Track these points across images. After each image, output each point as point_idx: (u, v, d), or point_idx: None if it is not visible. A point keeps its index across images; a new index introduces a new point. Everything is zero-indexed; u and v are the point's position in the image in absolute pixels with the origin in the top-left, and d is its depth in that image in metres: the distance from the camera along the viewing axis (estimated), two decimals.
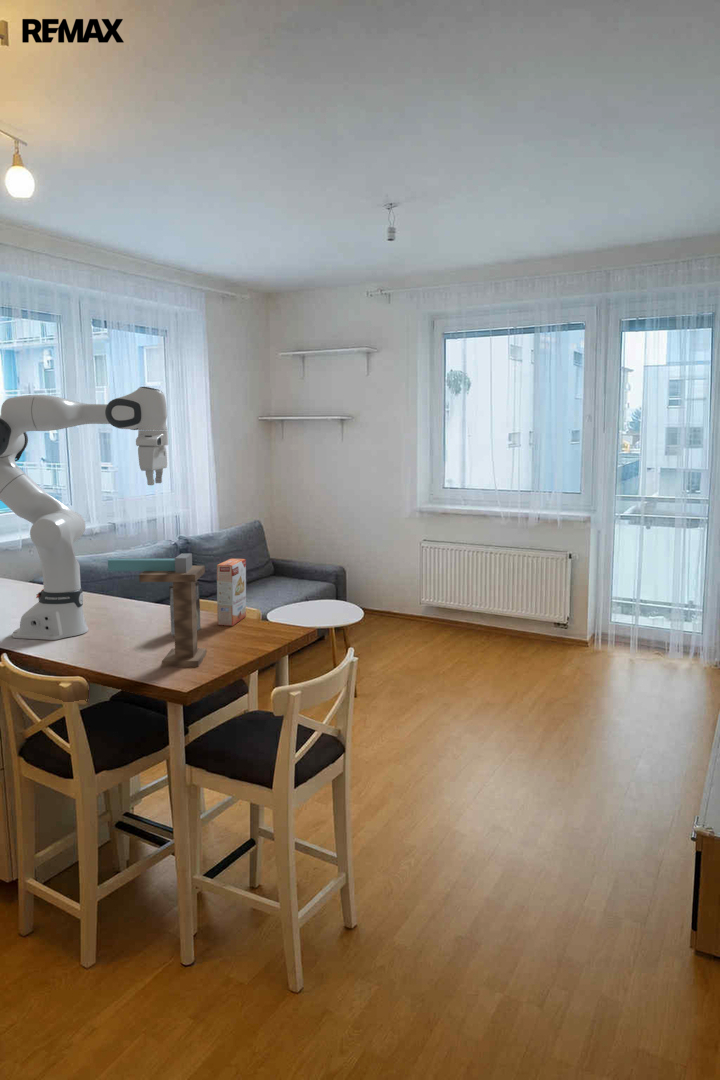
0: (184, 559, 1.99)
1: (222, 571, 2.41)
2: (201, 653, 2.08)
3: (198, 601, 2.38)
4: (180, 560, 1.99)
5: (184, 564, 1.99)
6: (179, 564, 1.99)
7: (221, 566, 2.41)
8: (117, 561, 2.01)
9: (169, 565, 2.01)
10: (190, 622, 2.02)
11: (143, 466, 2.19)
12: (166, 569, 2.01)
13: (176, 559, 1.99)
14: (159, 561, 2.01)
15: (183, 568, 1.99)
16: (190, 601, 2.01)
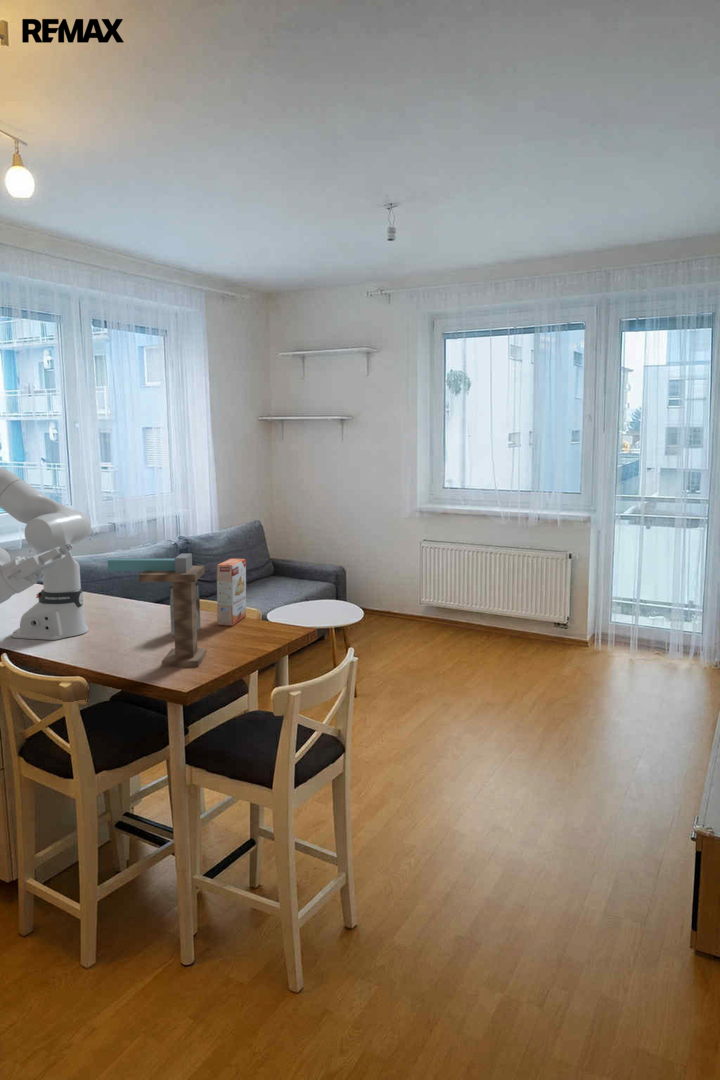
0: (184, 559, 1.99)
1: (222, 571, 2.41)
2: (201, 653, 2.08)
3: (198, 601, 2.38)
4: (180, 560, 1.99)
5: (184, 564, 1.99)
6: (179, 564, 1.99)
7: (221, 566, 2.41)
8: (117, 561, 2.01)
9: (169, 565, 2.01)
10: (190, 622, 2.02)
11: None
12: (166, 569, 2.01)
13: (176, 559, 1.99)
14: (159, 561, 2.01)
15: (183, 568, 1.99)
16: (190, 601, 2.01)
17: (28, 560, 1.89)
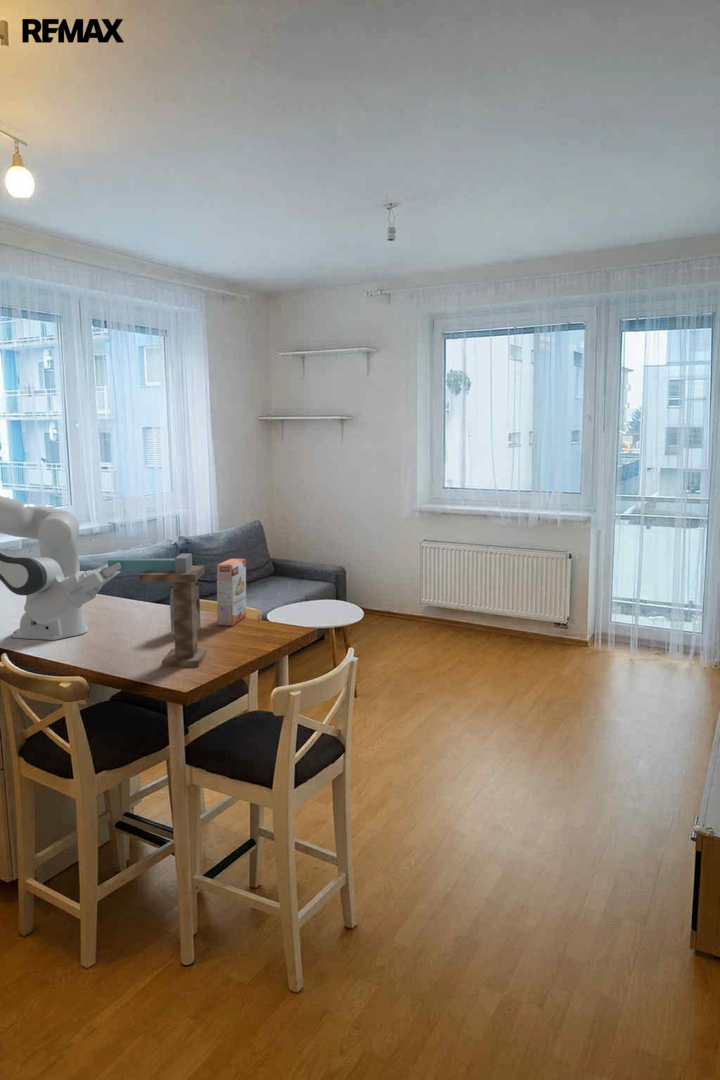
0: (184, 559, 1.99)
1: (222, 571, 2.41)
2: (201, 653, 2.08)
3: (198, 601, 2.38)
4: (180, 560, 1.99)
5: (184, 564, 1.99)
6: (179, 564, 1.99)
7: (221, 566, 2.41)
8: (117, 561, 2.01)
9: (169, 565, 2.01)
10: (190, 622, 2.02)
11: None
12: (166, 569, 2.01)
13: (176, 559, 1.99)
14: (159, 561, 2.01)
15: (183, 568, 1.99)
16: (190, 601, 2.01)
17: (90, 576, 1.93)
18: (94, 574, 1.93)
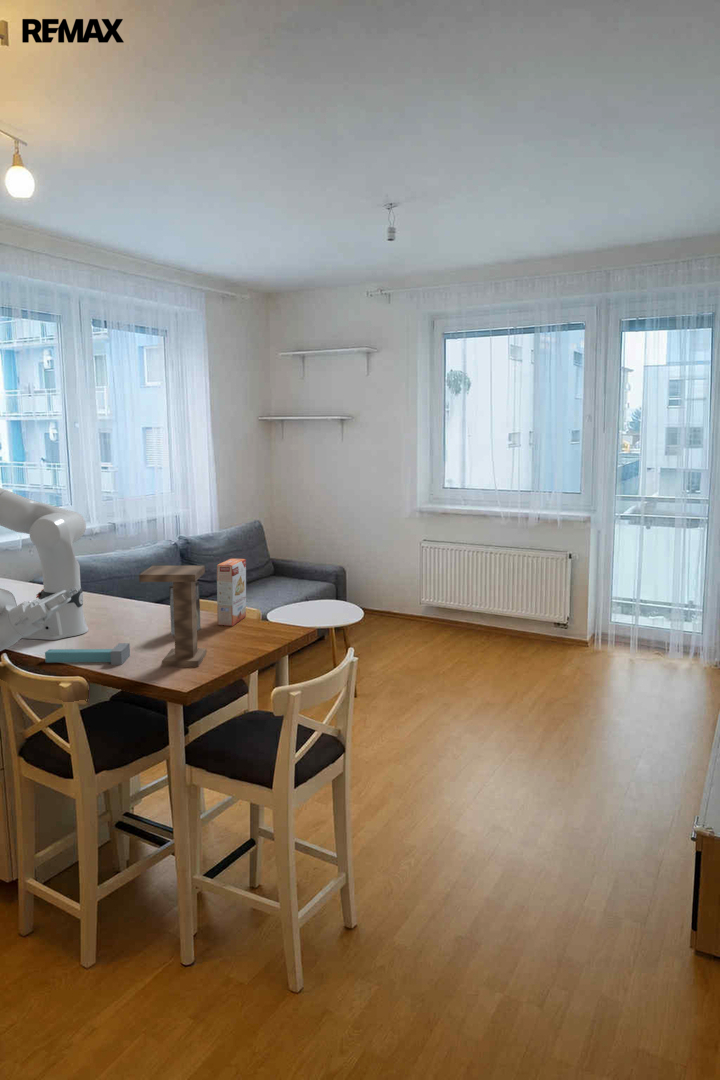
0: (119, 652, 2.02)
1: (222, 571, 2.41)
2: (201, 653, 2.08)
3: (198, 601, 2.38)
4: (115, 653, 2.02)
5: (119, 657, 2.02)
6: (115, 657, 2.02)
7: (221, 566, 2.41)
8: (54, 653, 2.04)
9: (106, 656, 2.05)
10: (190, 622, 2.02)
11: None
12: (103, 661, 2.05)
13: (112, 652, 2.02)
14: (96, 653, 2.04)
15: (119, 661, 2.02)
16: (190, 601, 2.01)
17: (35, 608, 1.93)
18: (39, 606, 1.94)
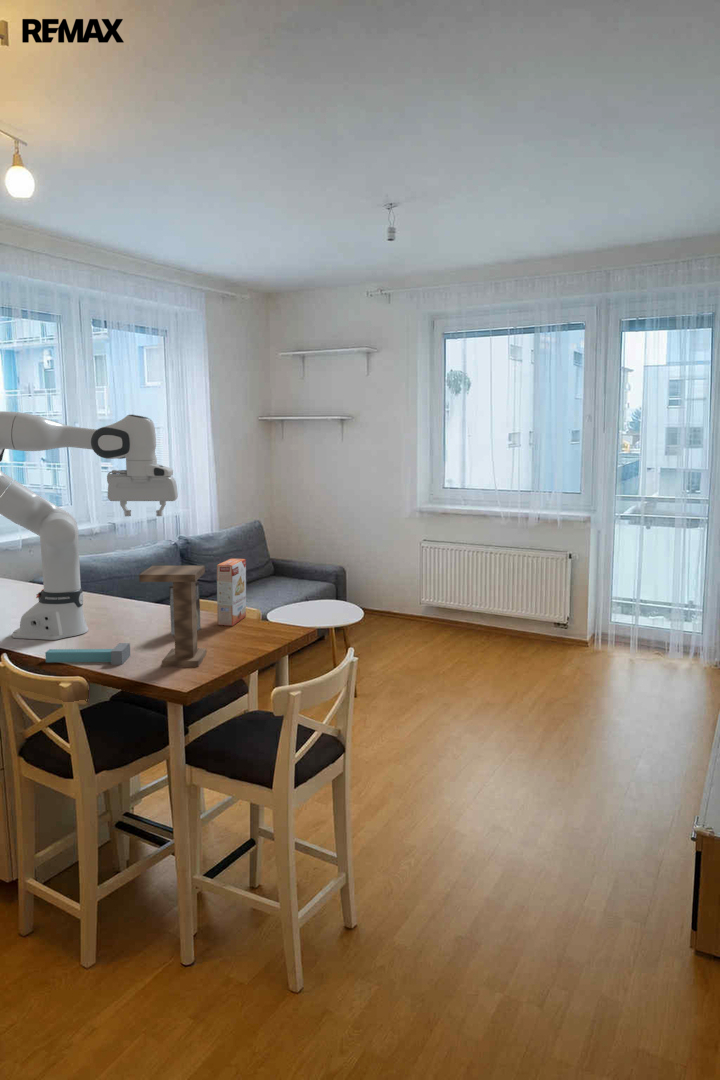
0: (120, 652, 2.02)
1: (222, 571, 2.41)
2: (201, 653, 2.08)
3: (198, 601, 2.38)
4: (116, 653, 2.02)
5: (120, 657, 2.02)
6: (115, 657, 2.02)
7: (221, 566, 2.41)
8: (55, 653, 2.04)
9: (106, 656, 2.05)
10: (190, 622, 2.02)
11: (176, 497, 2.17)
12: (103, 661, 2.05)
13: (112, 652, 2.02)
14: (96, 653, 2.04)
15: (119, 661, 2.02)
16: (190, 601, 2.01)
17: None
18: None
